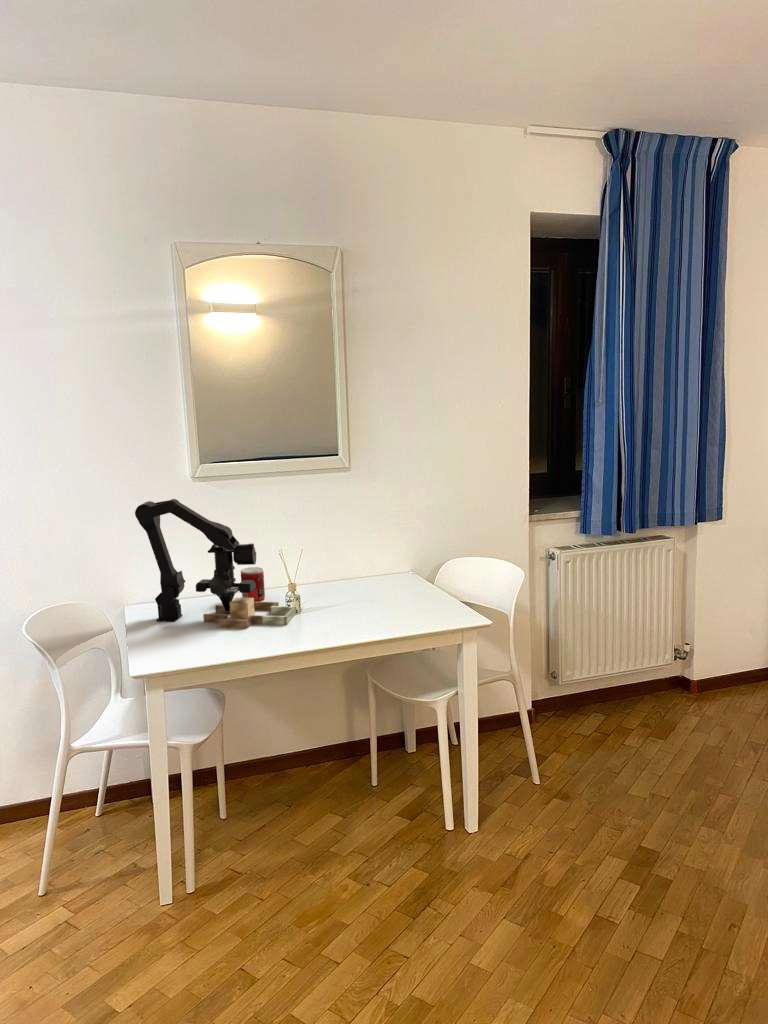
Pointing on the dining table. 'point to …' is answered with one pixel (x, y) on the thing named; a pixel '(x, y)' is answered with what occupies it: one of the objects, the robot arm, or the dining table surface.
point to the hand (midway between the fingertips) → (227, 611)
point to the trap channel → (253, 616)
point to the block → (241, 608)
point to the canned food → (258, 578)
